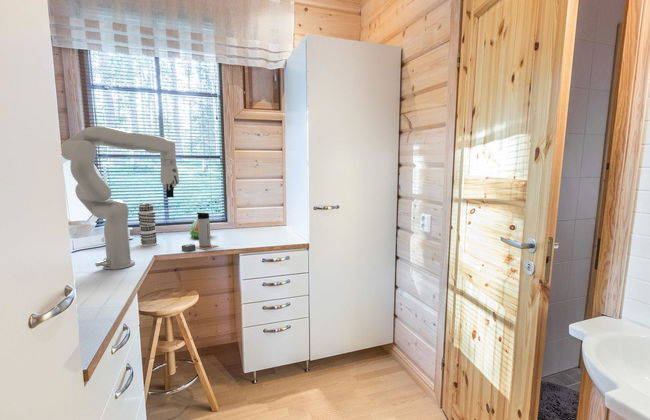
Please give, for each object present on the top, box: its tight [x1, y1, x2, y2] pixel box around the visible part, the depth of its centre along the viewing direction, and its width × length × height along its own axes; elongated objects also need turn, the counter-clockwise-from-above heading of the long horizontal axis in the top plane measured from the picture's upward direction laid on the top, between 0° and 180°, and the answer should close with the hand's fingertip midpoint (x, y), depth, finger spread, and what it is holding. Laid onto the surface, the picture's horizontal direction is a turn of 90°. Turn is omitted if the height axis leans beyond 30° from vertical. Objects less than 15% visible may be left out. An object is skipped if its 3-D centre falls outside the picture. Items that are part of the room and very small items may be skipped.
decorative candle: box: [137, 202, 158, 247], centre depth 199 cm, size 9×9×25 cm
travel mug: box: [196, 212, 212, 248], centre depth 193 cm, size 6×7×20 cm
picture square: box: [195, 244, 218, 251], centre depth 194 cm, size 10×10×1 cm
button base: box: [181, 243, 196, 253], centre depth 186 cm, size 5×5×3 cm
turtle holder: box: [189, 218, 199, 240], centre depth 221 cm, size 12×18×12 cm
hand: (170, 197), depth 182 cm, fingers closed
